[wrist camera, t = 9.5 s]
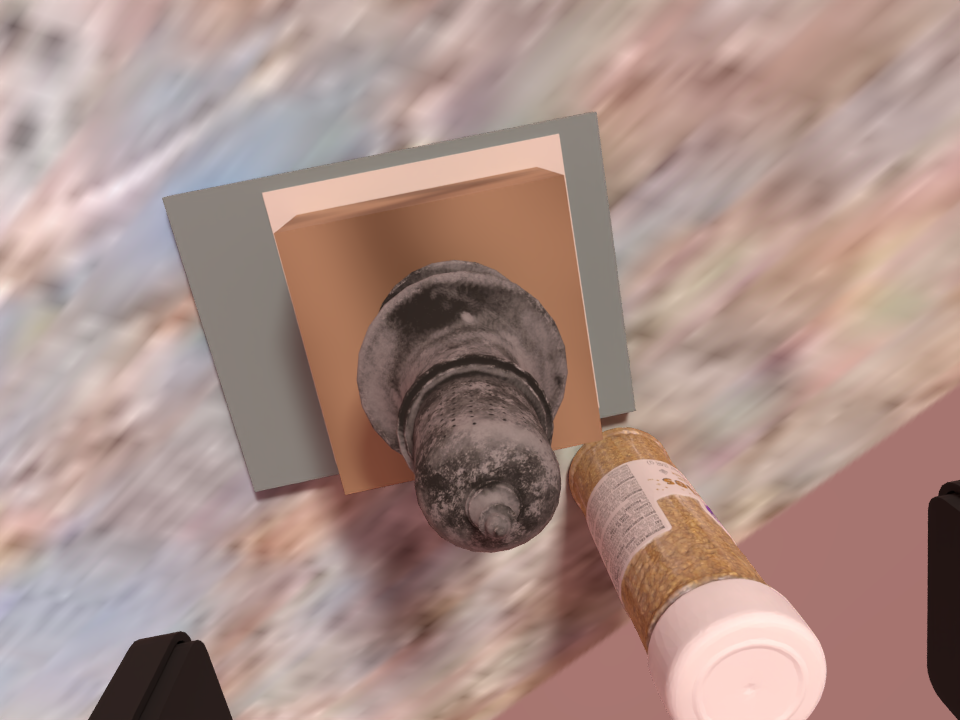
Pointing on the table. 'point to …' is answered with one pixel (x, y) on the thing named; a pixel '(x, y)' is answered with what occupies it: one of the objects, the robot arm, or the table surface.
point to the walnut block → (408, 247)
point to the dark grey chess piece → (469, 400)
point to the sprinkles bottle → (693, 590)
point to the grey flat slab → (278, 198)
